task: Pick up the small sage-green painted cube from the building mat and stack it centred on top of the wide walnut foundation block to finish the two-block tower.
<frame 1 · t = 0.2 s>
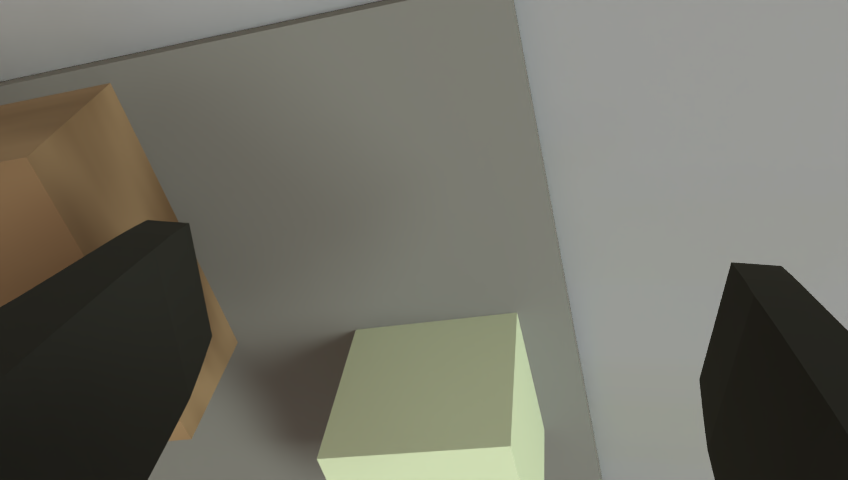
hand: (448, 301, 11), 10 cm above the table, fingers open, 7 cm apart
building mat: (250, 320, 25), on the table
sage cube: (452, 381, 25), resting on building mat
walnut base block: (48, 246, 24), resting on building mat
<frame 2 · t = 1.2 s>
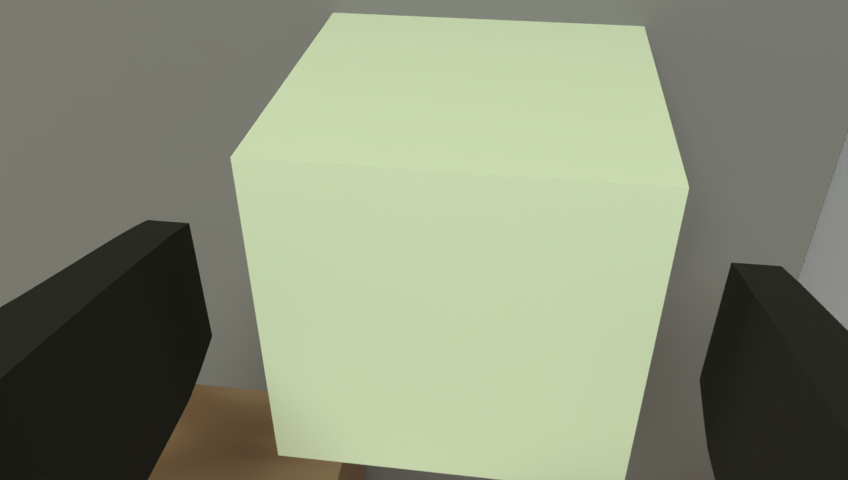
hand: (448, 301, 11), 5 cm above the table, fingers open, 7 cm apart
building mat: (340, 370, 18), on the table
sage cube: (479, 156, 14), resting on building mat
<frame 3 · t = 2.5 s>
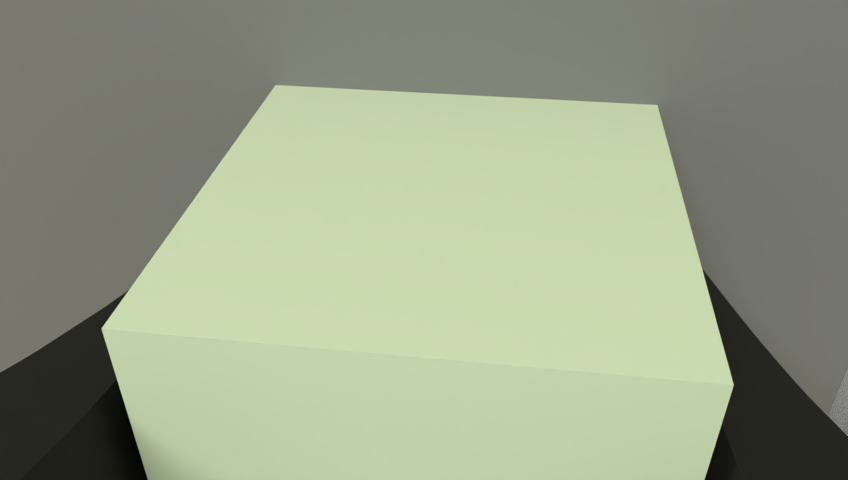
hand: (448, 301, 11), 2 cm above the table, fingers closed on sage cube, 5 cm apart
building mat: (303, 473, 16), on the table
sage cube: (457, 251, 12), resting on building mat, touching gripper
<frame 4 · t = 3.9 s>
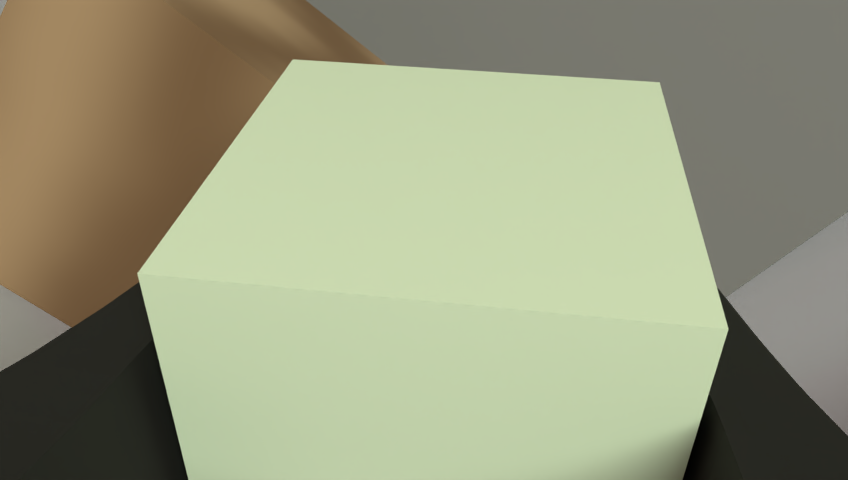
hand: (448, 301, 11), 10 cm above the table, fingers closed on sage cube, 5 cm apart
building mat: (462, 91, 19), on the table
sage cube: (464, 223, 12), point 8 cm above the table, touching gripper
walnut base block: (221, 137, 20), resting on building mat
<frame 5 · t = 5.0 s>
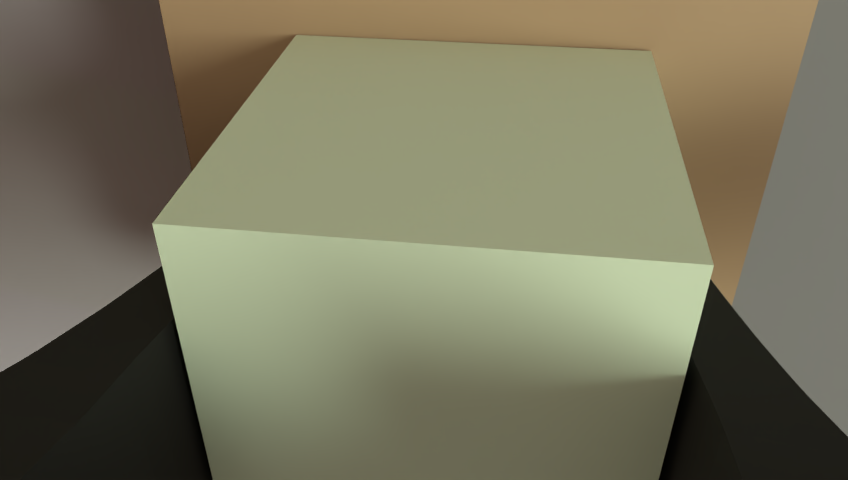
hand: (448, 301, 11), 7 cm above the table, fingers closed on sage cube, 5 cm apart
building mat: (693, 269, 18), on the table
sage cube: (464, 195, 12), point 4 cm above the table, touching gripper
walnut base block: (481, 104, 16), resting on building mat
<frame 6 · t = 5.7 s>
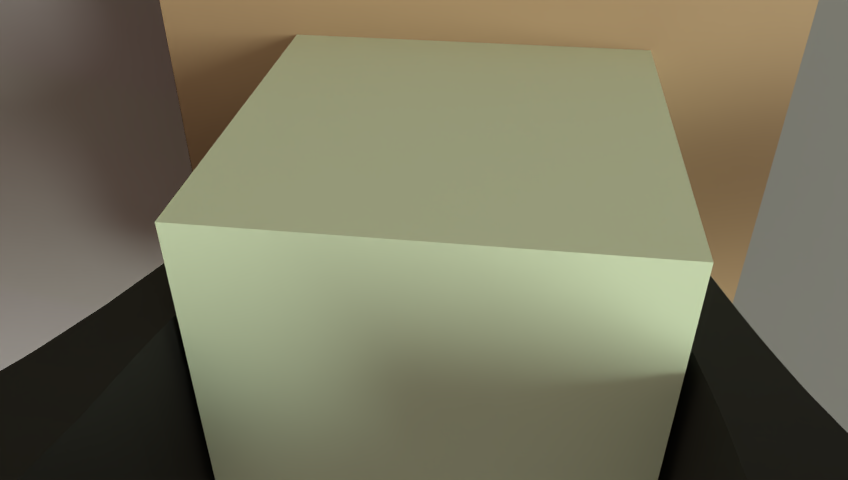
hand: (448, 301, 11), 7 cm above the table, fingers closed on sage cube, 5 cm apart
building mat: (693, 269, 18), on the table
sage cube: (464, 194, 12), point 4 cm above the table, touching gripper, walnut base block
walnut base block: (481, 104, 16), resting on building mat, touching sage cube
when the fingers open (7 cm above the table, at t = 5.7 s): sage cube stays where it is, resting on walnut base block.
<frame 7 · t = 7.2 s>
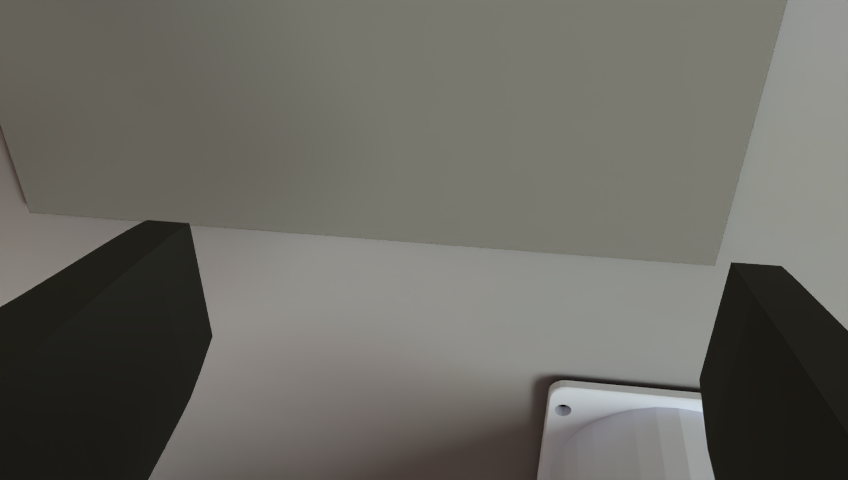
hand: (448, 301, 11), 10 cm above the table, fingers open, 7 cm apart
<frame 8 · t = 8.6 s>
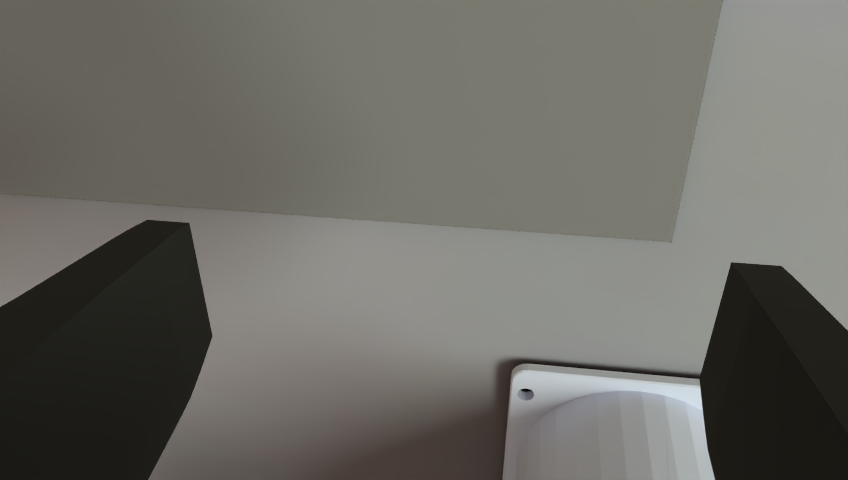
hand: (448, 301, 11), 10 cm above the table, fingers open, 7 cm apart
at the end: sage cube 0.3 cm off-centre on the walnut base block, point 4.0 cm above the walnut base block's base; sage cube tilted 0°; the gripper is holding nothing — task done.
